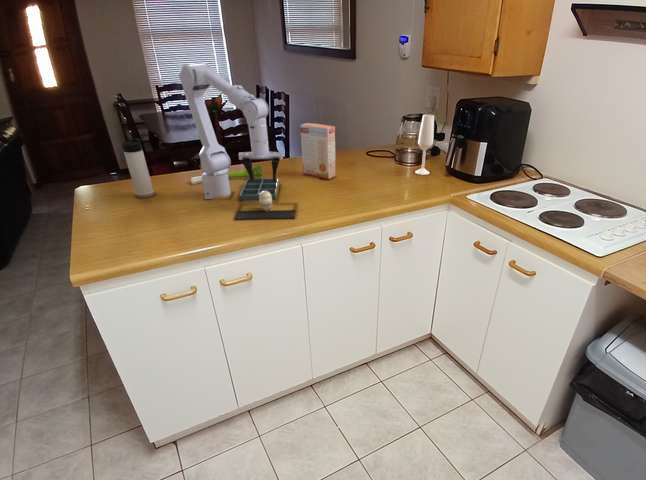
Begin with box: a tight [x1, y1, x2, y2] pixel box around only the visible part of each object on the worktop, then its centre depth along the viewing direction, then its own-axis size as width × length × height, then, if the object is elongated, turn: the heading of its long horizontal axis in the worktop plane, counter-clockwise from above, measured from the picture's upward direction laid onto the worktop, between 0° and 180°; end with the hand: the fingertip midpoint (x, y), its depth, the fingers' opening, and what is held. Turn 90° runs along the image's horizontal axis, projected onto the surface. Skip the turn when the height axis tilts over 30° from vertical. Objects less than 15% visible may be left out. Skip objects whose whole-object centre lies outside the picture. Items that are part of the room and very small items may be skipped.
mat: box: [234, 209, 296, 221], centre depth 144 cm, size 20×14×1 cm
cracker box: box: [300, 122, 336, 180], centre depth 173 cm, size 14×6×21 cm, turn 58°
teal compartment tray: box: [239, 177, 281, 202], centre depth 159 cm, size 13×20×3 cm
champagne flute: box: [414, 114, 435, 176], centre depth 178 cm, size 7×7×24 cm
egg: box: [258, 191, 274, 211], centre depth 142 cm, size 4×4×7 cm
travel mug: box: [121, 138, 155, 199], centre depth 151 cm, size 6×7×20 cm
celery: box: [190, 164, 264, 186], centre depth 170 cm, size 6×7×30 cm
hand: (263, 180), depth 142 cm, fingers open, 7 cm apart
